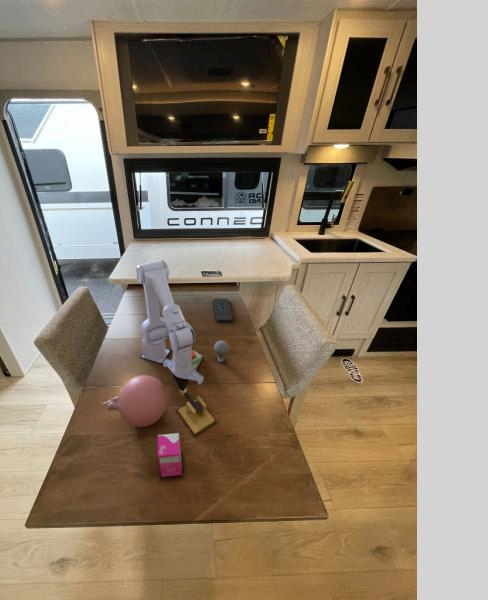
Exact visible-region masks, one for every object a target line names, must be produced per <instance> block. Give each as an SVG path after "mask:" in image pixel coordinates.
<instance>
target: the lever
mask: <svg viewBox="0 0 488 600" xmlns="http://www.w3.org/2000/svg"><path fill="white" fill-rule="evenodd" d="M188 392H189V391H188V388H186V389H185V390H184V391H182V390H180V388H178V393H179V395H180V396H182V397H185V398H186V400H187V402H189V403H190V404H191V405H192V406H193V408H194V409H195V410H196V414H198V413H199V412H201V405H200V404H199V403H198V402H197V401H195V402H194V399H193V398H192V397H191V395H190V394H189V393H188Z"/></svg>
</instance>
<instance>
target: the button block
mask: <svg viewBox="0 0 488 600" xmlns="http://www.w3.org/2000/svg"><path fill="white" fill-rule="evenodd" d="M192 351H194V352H195V358H194V359H192V360H191V361H192V367H193V368H194V369H195V370H196V371H197V369H198V367H199V365H200V363H201V361H202V360H203V354H200V353H198V352H197V351H196V350H194V349H193V350H192ZM170 360H172V361H173V356H172V357H171V358H170Z"/></svg>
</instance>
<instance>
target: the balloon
mask: <svg viewBox="0 0 488 600" xmlns="http://www.w3.org/2000/svg"><path fill="white" fill-rule="evenodd" d="M163 384H164V383H162V382H161V381H160V380H159V379H158V378H156V377H154V376H151V375H145V374H142V375H137V376H134V377H132V378H131V379H129V380H128V381H127V382H126V383H125V384H124V385H123V387H122V388H121V390H120V391H119V392H118V393H117V396H114V397H112V398H110V399H109V400H106V401H105V402H104V401H103V402H102V403H101V405H102V407H106V411H109V412H111V411H117V412H118V413H120V415H121V417H122V419H123V420H124V421H125V422H127V423H128V424H129V425H131V426H134V427H137V428H144V427H148V426H151V425H153V424H155V423H156V422H158V421H159V420H160V419H161V418H162V417H163V415H164V414H165V411H166V409H167V405H168V393H167V390H166V387H165V386H164V385H163Z"/></svg>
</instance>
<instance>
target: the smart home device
mask: <svg viewBox="0 0 488 600" xmlns="http://www.w3.org/2000/svg"><path fill="white" fill-rule="evenodd" d="M213 307H214V312H215V320H216V323H233V321H234V320H233V314H232V310H231V306H230V301H229V299H228V298H213Z"/></svg>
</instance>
